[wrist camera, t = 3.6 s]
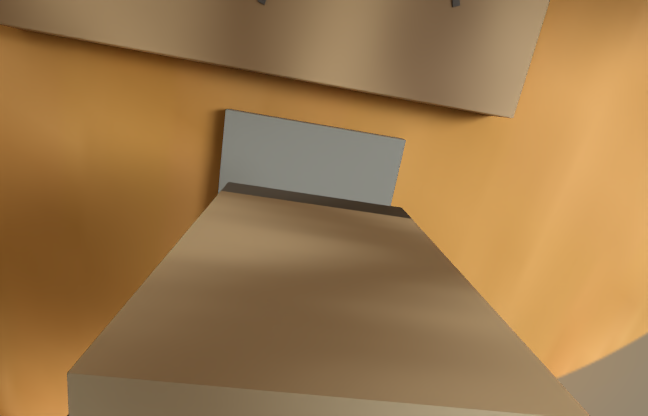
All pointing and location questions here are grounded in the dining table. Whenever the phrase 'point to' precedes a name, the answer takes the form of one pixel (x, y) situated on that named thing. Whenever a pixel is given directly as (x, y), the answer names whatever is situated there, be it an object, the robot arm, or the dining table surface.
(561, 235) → the dining table surface
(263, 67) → the oak board
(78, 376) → the block
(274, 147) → the mat
